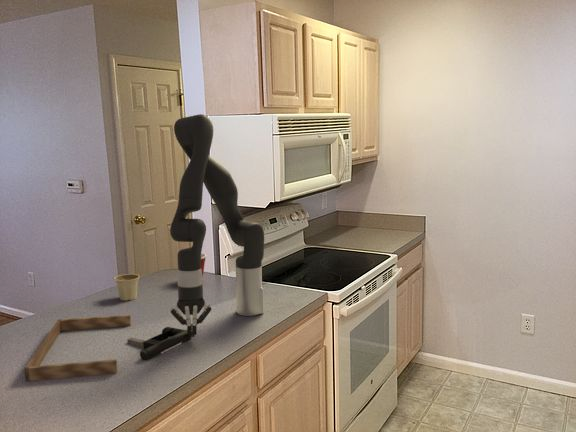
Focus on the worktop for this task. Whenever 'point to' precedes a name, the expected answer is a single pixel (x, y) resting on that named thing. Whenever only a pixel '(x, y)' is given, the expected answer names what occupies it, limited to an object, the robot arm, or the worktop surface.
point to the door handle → (160, 342)
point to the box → (73, 369)
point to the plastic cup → (202, 262)
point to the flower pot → (127, 286)
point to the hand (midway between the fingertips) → (192, 336)
